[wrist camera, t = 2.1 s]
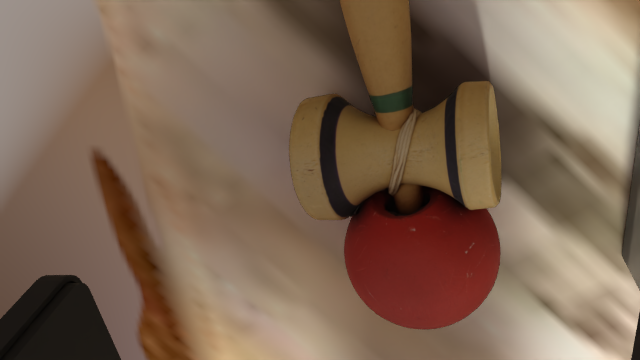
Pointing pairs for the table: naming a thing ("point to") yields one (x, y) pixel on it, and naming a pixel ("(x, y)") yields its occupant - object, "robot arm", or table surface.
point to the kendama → (404, 179)
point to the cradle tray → (633, 222)
